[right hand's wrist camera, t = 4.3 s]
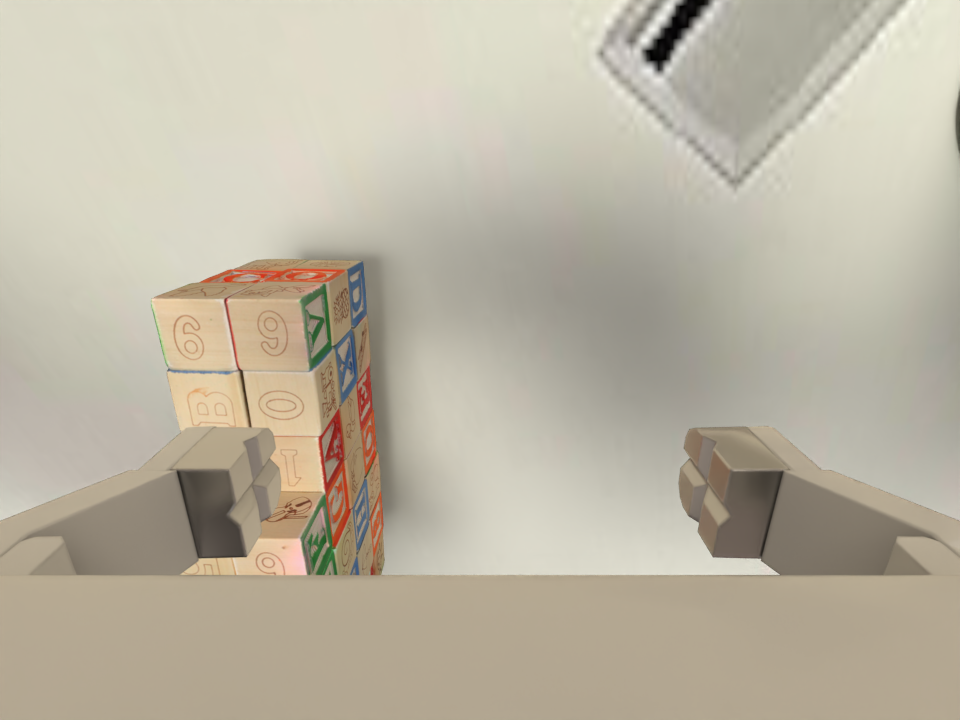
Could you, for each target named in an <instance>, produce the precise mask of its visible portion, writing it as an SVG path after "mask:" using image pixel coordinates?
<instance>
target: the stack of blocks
mask: <svg viewBox="0 0 960 720" xmlns="http://www.w3.org/2000/svg"><path fill="white" fill-rule="evenodd" d="M151 307H152V310H153V314H154V318H155V322H156V326H157V330H158V334H159V338H160V343H161V347H162V351H163V355H164V358H165V363H166V364H167V366H168V368H169V369H168V371H167V378H168V381H169V385H170V390H171V394H172V399H173V403H174V407H175V411H176V415H177V419H178V424H179V428H180V431H181V432H182V431H183V430H184V429H185V428H187V427H205V426H216V427H256V428H269V429H270V430H271V431H272V432H273V435H274V440H275V445H276V449H275V451H274V453H273V454H272V456H271V457H270V459H271V460H272V461H273V462H274V463H275V464H276V465H277V466H278V467H279V468H280V475H281V493H280V498H279V502H278V506H277V507H276V509H275V511H274V513H273V515H272V516H271V517H269V518H268V519H266V520H264V521H263V522H261V527H262V533H261V535H260V537H259V538H258V540H257V542H256V543H255V545H254V547H253V548H252V550H251V552H250V553H249V555H248V556H247V557H237V558H201V559H199V561H198V562H197V563H195V564H194V565H193V566H191V567H190V568H188V569H187V570H186V571H184V572H183V573H182V574H180V575H381V573H382V569H383V565H384V560H385V559H384V545H383V530H382V529H383V512H382V498H381V481H380V466H379V454H378V451H377V450H376V436H375V423H374V410H373V408H372V392H371V382H370V367H369V364H370V362H371V355H370V340H369V326H368V316H367V313H366V292H365V280H364V267H363V261H347V260H299V259H266V260H256V261H252V262H250V263H247V264H245V265H242V266H240V267H238V268H235V269H234V270H227V271H225V272H222V273H220V274H218V275H215V276H212V277H210V278H207V279H205V280H203V281H201V282H199V283H192V284H188V285H186V286H183V287H180V288H178V289H175V290H172V291H169V292H167V293H164V294H161V295H159V296H156V297H154V298H152V299H151Z"/></svg>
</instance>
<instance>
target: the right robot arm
mask: <svg viewBox="0 0 960 720" xmlns="http://www.w3.org/2000/svg"><path fill="white" fill-rule="evenodd" d="M275 449H276V445H275V440H274V435H273V432H272V431H271V430H270V429H269V428H256V427H216V426H205V427H187V428H185V429H184V430H183V431H182V432H181V433H180V434H179V435H177V436H176V437H175V438H174V439H173V440H172V441H171V442H170V443H168V444H167V445H166V446H165V447H164V448H163V449H162V450H160V451H159V452H158V453H157V454H156V455H155V456H154V457H152V458H151V459H150V460H149V461H148V462H147V463H146V464H144V465H143V466H142V467H141V468H140V469H139V470H129V471H126V472H124V473H121V474H119V475H116V476H113V477H111V478H108V479H106V480H103V481H101V482H98V483H96V484H93V485H90V486H88V487H85V488H83V489H80V490H78V491H75V492H73V493H70V494H67V495H65V496H62V497H60V498H57V499H55V500H52V501H50V502H47V503H45V504H42V505H39V506H37V507H34V508H32V509H29V510H27V511H24V512H22V513H19V514H16V515H14V516H11V517H9V518H6V519H4V520H1V521H0V720H960V521H958V520H956V519H953V518H951V517H948V516H946V515H943V514H941V513H938V512H936V511H933V510H930V509H928V508H925V507H923V506H920V505H918V504H915V503H913V502H910V501H908V500H905V499H903V498H900V497H897V496H895V495H892V494H890V493H887V492H885V491H882V490H880V489H877V488H875V487H872V486H869V485H867V484H864V483H862V482H859V481H857V480H854V479H852V478H849V477H847V476H844V475H841V474H839V473H836V472H834V471H831V470H821V469H820V468H819V467H818V466H817V465H816V464H814V463H813V462H812V461H811V460H810V459H809V458H808V457H806V456H805V455H804V454H803V453H802V452H801V451H800V450H799V449H797V448H796V447H795V446H794V445H793V444H792V443H791V442H789V441H788V440H787V439H786V438H785V437H784V436H783V435H782V434H780V433H779V432H778V431H777V430H776V429H775V428H772V427H769V426H758V427H708V428H692V429H689V431H688V433H687V435H686V439H685V444H684V449H685V451H686V453H687V454H688V456H689V457H690V459H689V460H688V461H687V462H686V463H685V464H684V465H683V466H682V467H681V468H680V476H679V493H680V499H681V502H682V505H683V508H684V509H685V511H686V513H687V515H688V516H689V517H691V518H692V519H694V520H696V521H697V522H699V527H698V533H699V535H700V537H701V538H702V540H703V542H704V543H705V545H706V547H707V548H708V550H709V551H710V553H711V555H712V556H713V557H721V558H758V559H761V561H762V562H764V563H765V564H766V565H768V566H769V567H770V568H772V569H773V570H774V571H776V572H777V573H779V574H780V575H180V574H182V573H183V572H184V571H186V570H187V569H188V568H190V567H191V566H193V565H194V564H195V563H197V562H198V561H199V559H201V558H237V557H247V556H248V555H249V553H250V552H251V550H252V548H253V547H254V545H255V543H256V542H257V540H258V538H259V537H260V535H261V533H262V527H261V522H263V521H264V520H266V519H268V518H269V517H271V516H272V515H273V513H274V511H275V509H276V507H277V506H278V502H279V498H280V493H281V475H280V468H279V467H278V466H277V465H276V464H275V463H274V462H273V461H272V460H271V459H270V457H271V456H272V454H273V453H274V451H275Z"/></svg>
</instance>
